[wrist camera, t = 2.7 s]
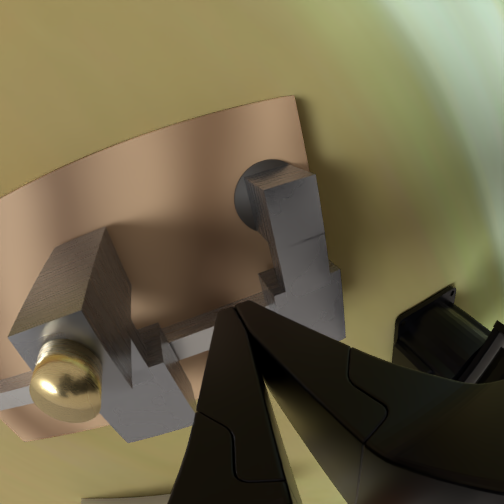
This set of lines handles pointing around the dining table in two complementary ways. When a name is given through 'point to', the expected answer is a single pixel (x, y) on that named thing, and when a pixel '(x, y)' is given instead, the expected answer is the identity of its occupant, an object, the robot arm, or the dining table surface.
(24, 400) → the rail
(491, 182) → the dining table surface
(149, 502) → the grey curved block
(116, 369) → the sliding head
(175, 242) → the brown wooden board
